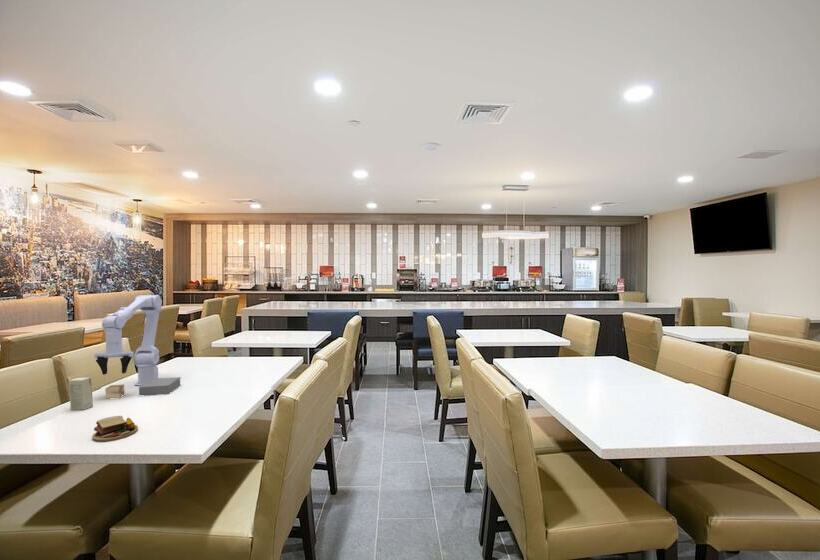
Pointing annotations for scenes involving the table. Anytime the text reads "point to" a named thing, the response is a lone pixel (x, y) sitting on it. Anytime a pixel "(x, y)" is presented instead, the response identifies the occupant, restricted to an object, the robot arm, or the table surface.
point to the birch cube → (114, 391)
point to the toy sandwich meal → (113, 428)
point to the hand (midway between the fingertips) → (114, 373)
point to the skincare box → (80, 393)
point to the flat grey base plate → (159, 386)
